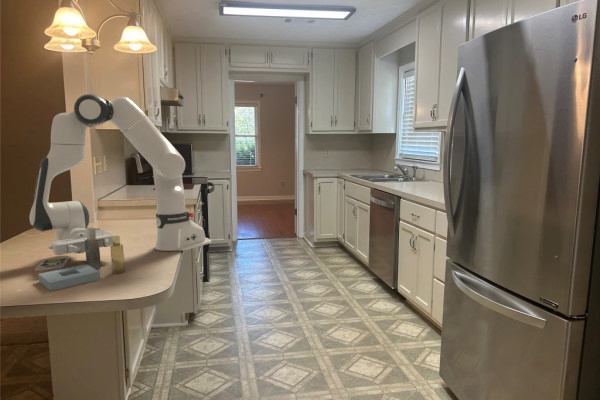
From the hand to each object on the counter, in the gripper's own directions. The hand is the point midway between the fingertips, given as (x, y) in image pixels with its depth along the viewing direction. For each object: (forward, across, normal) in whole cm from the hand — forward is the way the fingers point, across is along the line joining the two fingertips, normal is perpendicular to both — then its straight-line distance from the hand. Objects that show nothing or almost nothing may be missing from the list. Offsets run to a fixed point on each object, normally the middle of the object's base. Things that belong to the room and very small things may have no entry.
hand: (93, 247), depth 143 cm
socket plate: (+7, -10, +8) cm, 14 cm away
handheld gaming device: (-18, -8, +8) cm, 21 cm away
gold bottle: (+10, +4, +8) cm, 13 cm away
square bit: (-1, 0, +8) cm, 8 cm away
